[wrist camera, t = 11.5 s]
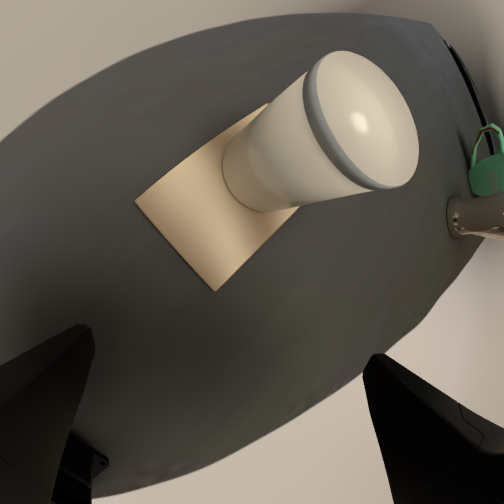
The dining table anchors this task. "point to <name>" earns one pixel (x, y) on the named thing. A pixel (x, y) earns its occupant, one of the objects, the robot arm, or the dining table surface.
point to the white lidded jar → (324, 139)
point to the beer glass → (477, 216)
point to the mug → (487, 166)
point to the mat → (208, 212)
